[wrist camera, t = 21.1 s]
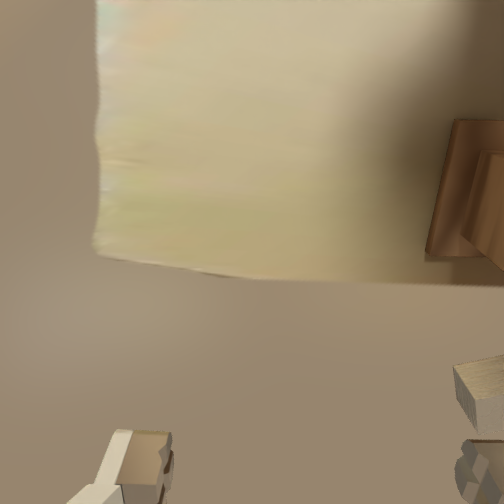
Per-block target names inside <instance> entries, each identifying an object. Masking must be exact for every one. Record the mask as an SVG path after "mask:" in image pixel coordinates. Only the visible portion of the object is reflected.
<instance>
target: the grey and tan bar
mask: <svg viewBox="0 0 504 504" xmlns="http://www.w3.org/2000/svg"><path fill="white" fill-rule="evenodd" d="M453 371H454V379H455V388H456V396H457V400H458V402H459V403H460V405H461V407H462V408H463V410H464V412H465V414H466V415H467V417H468V419H469V420H470V422H471V424H472V425H473V427H474V429H475V430H476V432H477V434H478V435H481V434H487V433H493V432H498V431H503V430H504V355H500V356H496V357H492V358H486V359H482V360H477V361H472V362H467V363H463V364H458V365H454V366H453Z"/></svg>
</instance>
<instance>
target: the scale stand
mask: <svg viewBox="0 0 504 504" xmlns="http://www.w3.org/2000/svg"><path fill="white" fill-rule="evenodd" d="M425 251H426V252H427V253H428V254H429V256H460V257H487V258H488V259H490V260H491V261H492V262H493V263H494V264H495V265H497V266H498V267H499V268H500V269H501V270H503V271H504V121H502V120H458V119H454V123H453V128H452V132H451V137H450V141H449V146H448V150H447V155H446V159H445V164H444V168H443V173H442V177H441V182H440V186H439V191H438V195H437V200H436V204H435V209H434V213H433V218H432V222H431V226H430V231H429V235H428V240H427V244H426V249H425Z"/></svg>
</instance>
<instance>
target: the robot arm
mask: <svg viewBox="0 0 504 504" xmlns="http://www.w3.org/2000/svg"><path fill="white" fill-rule="evenodd" d="M171 444H172V434H171V432H165V431H146V430H122V429H117V430H116V431H115V432H114V434H113V436H112V438H111V441H110V443H109V446H108V449H107V451H106V453H105V456H104V458H103V461H102V464H101V467H100V469H99V471H98V474H97V476H96V479H95V481H94V484H87V485H86V486H85V487H84V488H83V489H82V490H81V491H80V492H79V493H77V494H76V495H75V496H74V497H73V498H72V499H71V500H70V501H68V502H67V503H66V504H167V501H166V493H167V492H168V491H169V490H170V487H171V482H172V477H173V468H174V454H173V451H172V450H171ZM461 450H462V452H463V454H464V455H463V456H462V457H460V458H459V459H458V460H457V462H456V465H455V480H456V484H457V487H458V490H459V492H460V494H461V496H462V498H463V499H464V500H466V501H467V502H468V503H469V504H504V440H503V441H502V440H473V439H471V440H470V439H469V440H468V439H467V440H466V441H464V442H463V444H462V447H461Z"/></svg>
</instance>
